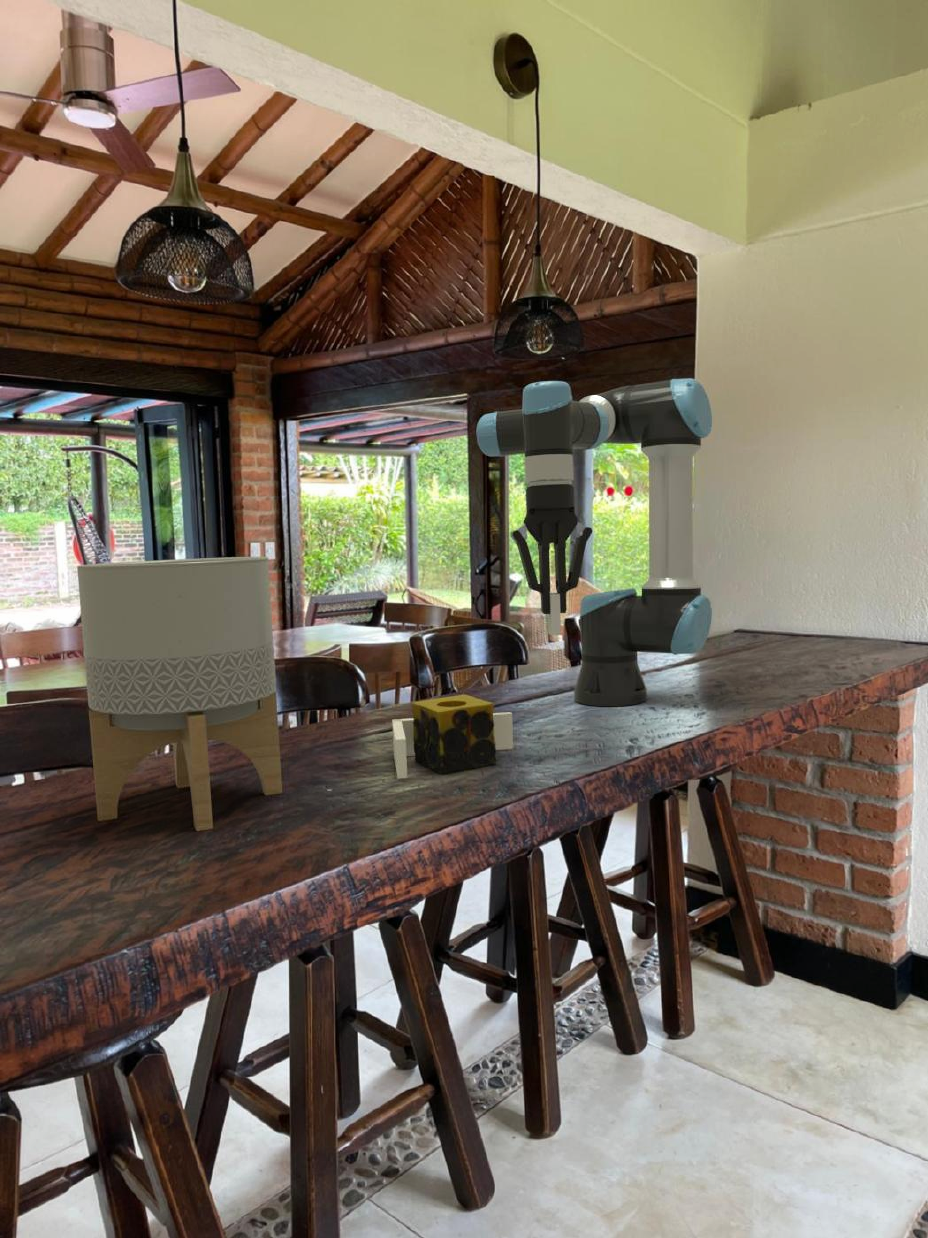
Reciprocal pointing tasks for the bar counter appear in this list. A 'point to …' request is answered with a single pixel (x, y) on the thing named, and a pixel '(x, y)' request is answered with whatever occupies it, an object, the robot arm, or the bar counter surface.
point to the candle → (453, 733)
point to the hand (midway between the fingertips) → (554, 634)
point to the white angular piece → (406, 744)
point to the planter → (179, 670)
